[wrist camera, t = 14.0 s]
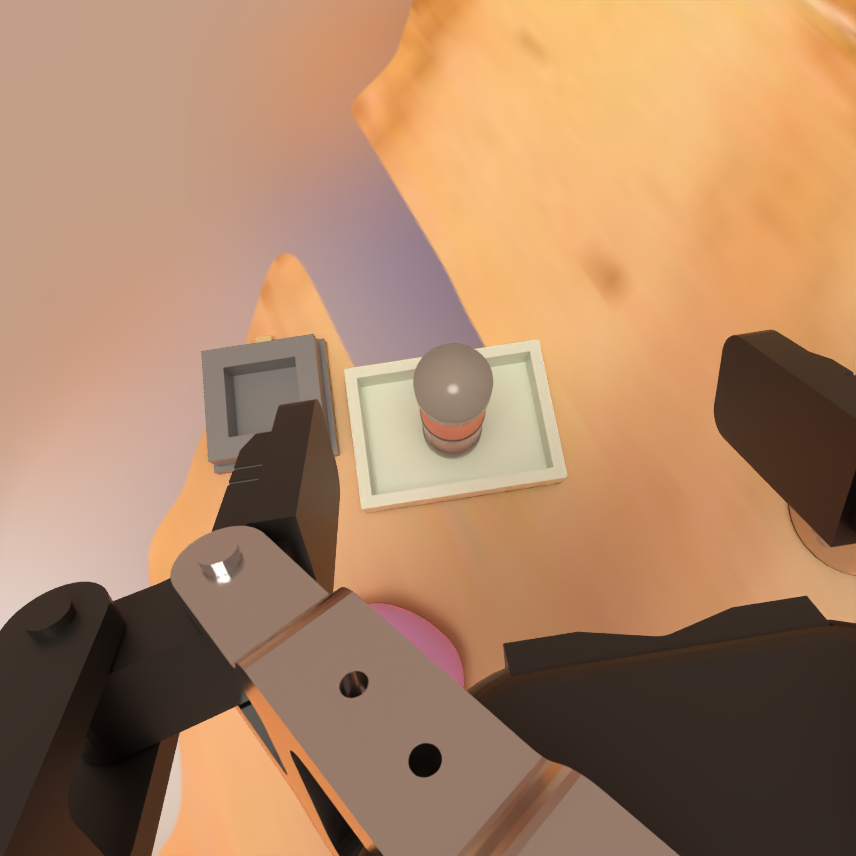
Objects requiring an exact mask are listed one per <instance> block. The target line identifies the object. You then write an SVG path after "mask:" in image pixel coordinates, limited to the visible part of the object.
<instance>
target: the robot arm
mask: <svg viewBox="0 0 856 856" xmlns="http://www.w3.org/2000/svg"><path fill="white" fill-rule="evenodd" d="M714 417H715V422H716V425H717V428H718V430H719V432H720V434H721V435H722V437H723V438H724V439H725V440H726V441H727V442H728V443H729V444H730V445H731V446H732V447H733V448H734V449H735V450H736V451H737V452H738V453H739V454H740V455H741V456H742V457H743V458H744V459H745V460H746V461H747V462H748V463H749V464H750V465H751V466H752V467H753V468H754V470H755V471H756V472H757V473H758V474H759V475H760V476H761V477H762V478H763V479H764V480H765V481H766V482H767V483H768V484H769V485H770V486H771V487H772V488H773V489H774V490H775V491H776V492H777V493H778V494H779V495H780V496H781V497H782V498H783V499H784V500H785V501H786V502H787V503H788V504H789V508H790V513H791V519H792V521H793V524H794V526H795V529H796V531H797V533H798V535H799V536H800V538H801V539H802V541H803V543H804V544H805V546H806V547H807V548H808V549H809V550H810V551H811V552H812V553H813V554H814V555H815V556H816V557H817V558H819V559H820V560H821V561H823V562H824V563H826V564H827V565H828V566H830V567H832V568H834V569H837V570H839V571H841V572H843V573H847V574H851V575H855V576H856V375H855V376H854V375H853V372H852V371H850V370H849V369H847V368H845V367H844V366H842V365H840V364H839V363H837V362H836V361H834V360H832V359H829V358H826V357H823V356H820V355H817V354H814V353H811V352H809V351H807V350H805V349H804V348H802V347H801V346H799V345H798V344H796V343H794V342H793V341H791V340H790V339H788V338H786V337H785V336H783V335H782V334H780V333H778V332H777V331H775V330H765V331H759V332H752V333H746V334H739V335H733V336H730V337H729V338H728V339H727V340H726V342H725V344H724V347H723V351H722V357H721V364H720V371H719V377H718V384H717V390H716V397H715V403H714ZM339 501H340V485H339V476H338V470H337V465H336V461H335V457H334V454H333V450H332V446H331V442H330V438H329V434H328V430H327V427H326V423H325V419H324V415H323V411H322V408H321V405H320V403H319V401H318V399H314V400H307V401H301V402H294V403H288V404H281V405H279V406H278V409H277V413H276V416H275V420H274V424H273V427H272V431H269V432H263V433H256V434H255V435H254V436H253V437H252V438H251V439H250V440H249V441H248V442H247V443H246V444H245V445H244V447H243V448H242V449H241V450H240V452H239V454H238V457H237V460H236V463H235V466H234V471H233V472H232V475H231V478H230V480H229V485H228V486H227V489H226V492H225V495H224V498H223V501H222V504H221V506H220V509H219V512H218V515H217V518H216V521H215V524H214V527H213V530H212V532H211V533H208V534H206V535H204V536H202V537H201V538H199V539H197V540H196V541H194V542H193V543H192V544H190V545H189V546H188V547H187V548H186V549H185V550H184V551H183V552H182V553H181V554H180V555H179V556H178V558H177V559H176V561H175V562H174V564H173V567H172V569H171V576H170V577H171V578H169V579H167V580H166V581H163V582H161V583H159V584H156V585H154V586H151V587H149V588H146V589H144V590H141V591H138V592H136V593H134V594H131V595H128V596H126V597H123V598H121V599H118V600H115V601H112V599H111V597H110V596H109V594H108V592H107V591H106V589H105V588H104V587H103V586H101V585H99V584H97V583H92V582H77V583H71V584H67V585H63V586H60V587H58V588H55V589H53V590H50V591H48V592H46V593H44V594H42V595H40V596H39V597H37V598H35V599H34V600H32V601H31V602H29V603H28V604H26V605H25V606H24V607H22V608H21V609H20V610H19V611H18V612H16V613H15V614H14V615H13V616H12V617H11V618H10V619H9V620H8V622H7V623H6V624H5V625H4V626H3V628H2V629H1V631H0V856H151V855H152V850H153V846H154V842H155V837H156V833H157V829H158V824H159V820H160V816H161V811H162V807H163V802H164V798H165V794H166V789H167V785H168V781H169V776H170V772H171V768H172V763H173V759H174V755H175V750H176V746H177V742H178V737H179V733H180V732H182V731H184V730H186V729H188V728H190V727H192V726H195V725H197V724H199V723H201V722H203V721H205V720H207V719H210V718H212V717H214V716H216V715H218V714H220V713H223V712H225V711H227V710H229V709H231V708H233V707H236V709H237V710H238V712H239V713H240V715H241V716H242V718H243V719H244V720H245V722H246V723H247V725H248V726H249V728H250V729H251V731H252V732H253V734H254V735H255V736H256V738H257V739H258V741H259V742H260V744H261V745H262V747H263V748H264V750H265V751H266V752H267V754H268V755H269V757H270V758H271V760H272V761H273V763H274V764H275V766H276V767H277V768H278V770H279V771H280V773H281V774H282V776H283V777H284V779H285V780H286V782H287V783H288V784H289V786H290V787H291V789H292V790H293V792H294V794H295V795H296V797H297V798H298V800H299V802H300V803H301V805H302V807H303V808H304V810H305V812H306V814H307V815H308V817H309V819H310V820H311V822H312V824H313V825H314V827H315V829H316V830H317V832H318V833H319V835H320V837H321V838H322V840H323V841H324V843H325V844H326V846H327V847H328V849H329V850H330V852H331V853H332V855H333V856H856V623H849V622H842V621H836V620H826V618H825V617H824V616H823V615H822V614H821V612H820V611H819V610H818V609H817V608H816V606H815V605H814V604H813V603H812V602H811V601H810V599H809V598H808V597H807V596H802V597H796V598H789V599H783V600H777V601H770V602H764V603H758V604H751V605H745V606H739V607H732V608H730V609H728V610H725V611H723V612H721V613H718V614H716V615H714V616H711V617H709V618H707V619H705V620H702V621H700V622H698V623H695V624H693V625H691V626H688V627H686V628H684V629H681V630H679V631H677V632H674V633H672V634H669V635H666V636H640V635H623V634H606V633H589V632H574V633H567V634H561V635H555V636H548V637H542V638H536V639H529V640H523V641H517V642H510V643H504V644H503V647H504V658H505V669H502V670H500V671H498V672H496V673H493V674H492V675H490V676H488V677H486V678H485V679H483V680H481V681H480V682H478V683H477V684H475V685H474V686H473V687H471V688H470V689H469V690H467V691H466V690H465V689H464V688H462V687H461V686H460V685H459V684H458V683H457V682H456V681H455V680H453V679H452V678H451V677H450V676H449V675H448V674H447V673H445V672H444V671H443V670H442V669H441V668H440V667H439V666H437V665H436V664H435V663H434V662H433V661H432V660H431V659H429V658H428V657H427V656H426V655H425V654H424V653H423V652H422V651H420V650H419V649H418V648H417V647H416V646H415V645H414V644H412V643H411V642H410V641H409V640H408V639H407V638H406V637H404V636H403V635H402V634H401V633H400V632H399V631H398V630H396V629H395V628H394V627H393V626H392V625H391V624H390V623H389V622H387V621H386V620H385V619H384V618H383V617H382V616H381V615H379V614H378V613H377V612H376V611H375V610H374V609H373V608H371V607H370V606H369V605H368V604H367V603H366V602H365V601H363V600H362V599H361V598H360V597H359V596H358V595H357V594H355V593H354V592H353V591H351V590H350V589H348V588H345V587H341V588H339V589H338V590H337V591H335V592H334V593H333V585H334V571H335V557H336V543H337V529H338V515H339Z"/></svg>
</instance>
